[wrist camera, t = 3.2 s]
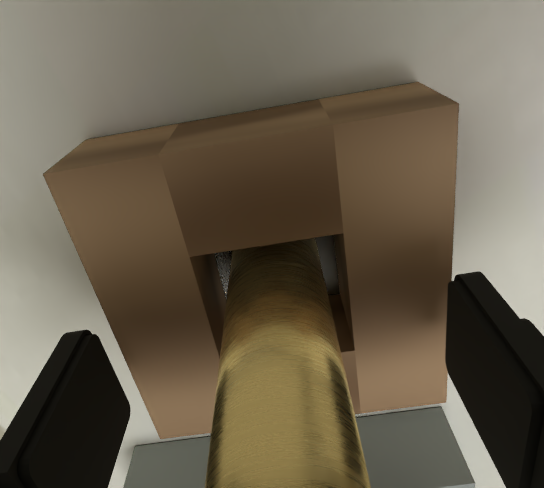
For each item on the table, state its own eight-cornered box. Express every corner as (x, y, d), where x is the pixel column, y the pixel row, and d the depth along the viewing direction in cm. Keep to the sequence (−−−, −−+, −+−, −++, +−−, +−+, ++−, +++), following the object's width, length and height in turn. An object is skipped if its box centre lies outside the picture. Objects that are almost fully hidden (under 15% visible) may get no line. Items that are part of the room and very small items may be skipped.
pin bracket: (85, 139, 13) (43, 174, 11) (418, 82, 13) (459, 103, 10) (174, 375, 18) (160, 439, 16) (418, 342, 18) (446, 402, 15)
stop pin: (223, 223, 15) (169, 547, 6) (312, 209, 15) (387, 522, 6) (241, 294, 16) (217, 638, 8) (322, 283, 16) (393, 620, 7)
